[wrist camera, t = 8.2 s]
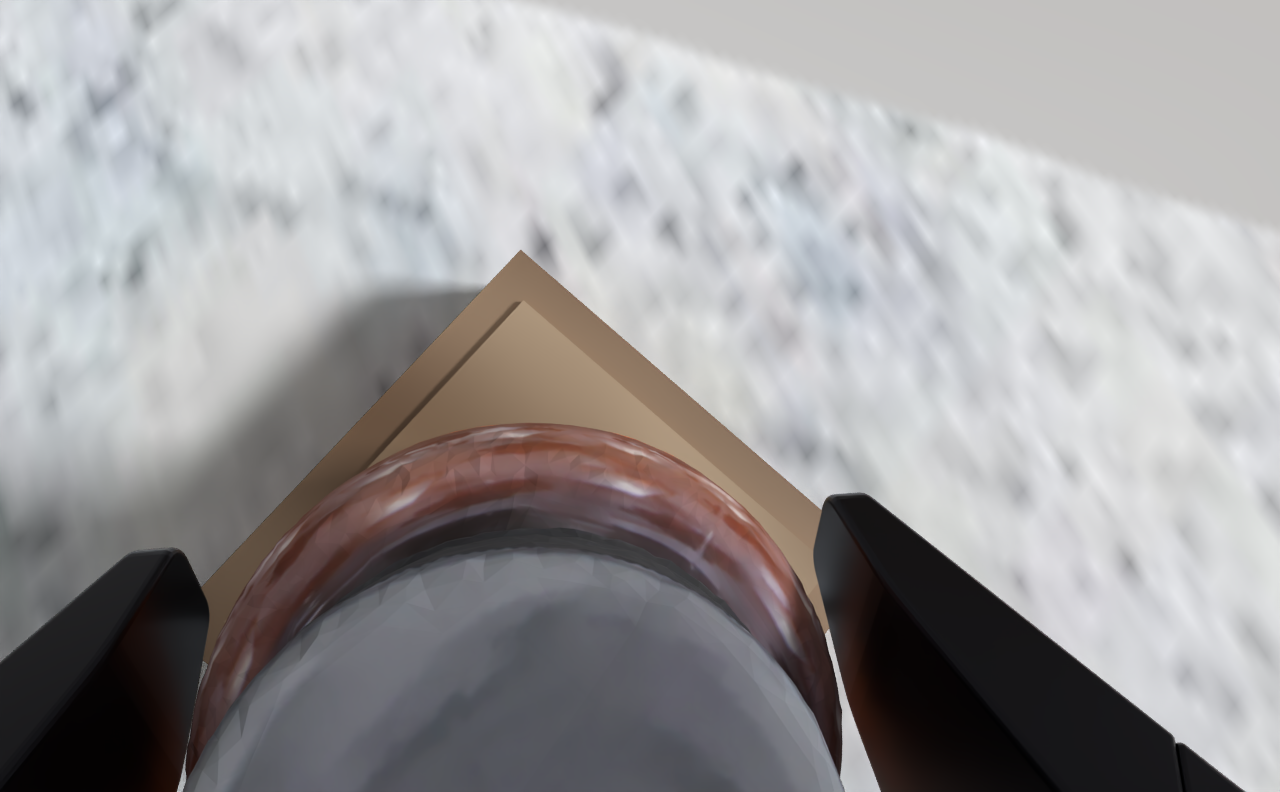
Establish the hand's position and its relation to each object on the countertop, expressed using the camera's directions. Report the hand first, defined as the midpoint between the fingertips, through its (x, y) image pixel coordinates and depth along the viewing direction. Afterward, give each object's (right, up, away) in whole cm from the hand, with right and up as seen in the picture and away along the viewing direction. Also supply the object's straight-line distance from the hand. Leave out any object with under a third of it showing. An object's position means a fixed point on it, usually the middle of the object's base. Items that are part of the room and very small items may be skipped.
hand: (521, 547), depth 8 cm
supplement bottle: (-1, -2, +8) cm, 8 cm away
